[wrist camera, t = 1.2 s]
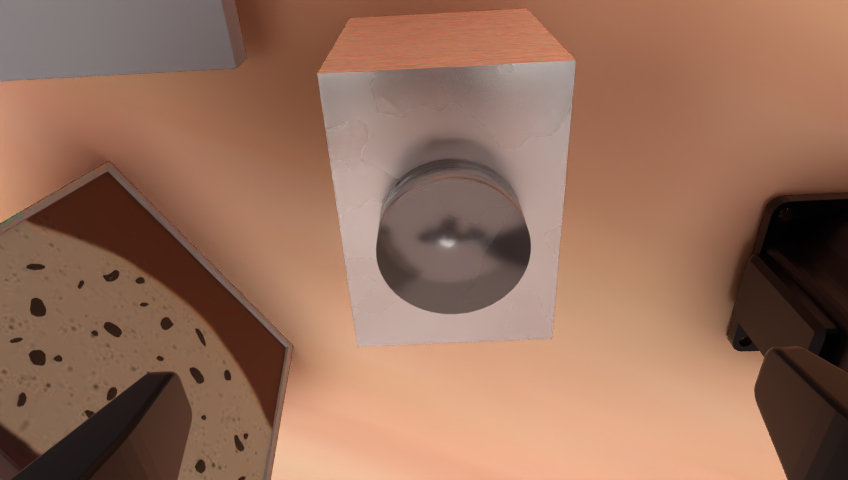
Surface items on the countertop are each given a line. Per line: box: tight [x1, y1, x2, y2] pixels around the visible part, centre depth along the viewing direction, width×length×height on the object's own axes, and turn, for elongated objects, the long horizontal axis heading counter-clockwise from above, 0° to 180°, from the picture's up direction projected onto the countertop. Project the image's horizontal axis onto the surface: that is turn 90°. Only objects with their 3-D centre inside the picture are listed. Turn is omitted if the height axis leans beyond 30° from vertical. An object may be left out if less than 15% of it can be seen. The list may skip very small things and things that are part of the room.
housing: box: [317, 8, 576, 347], centre depth 15 cm, size 5×7×7 cm
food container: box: [0, 161, 293, 480], centre depth 17 cm, size 12×6×10 cm, turn 32°
